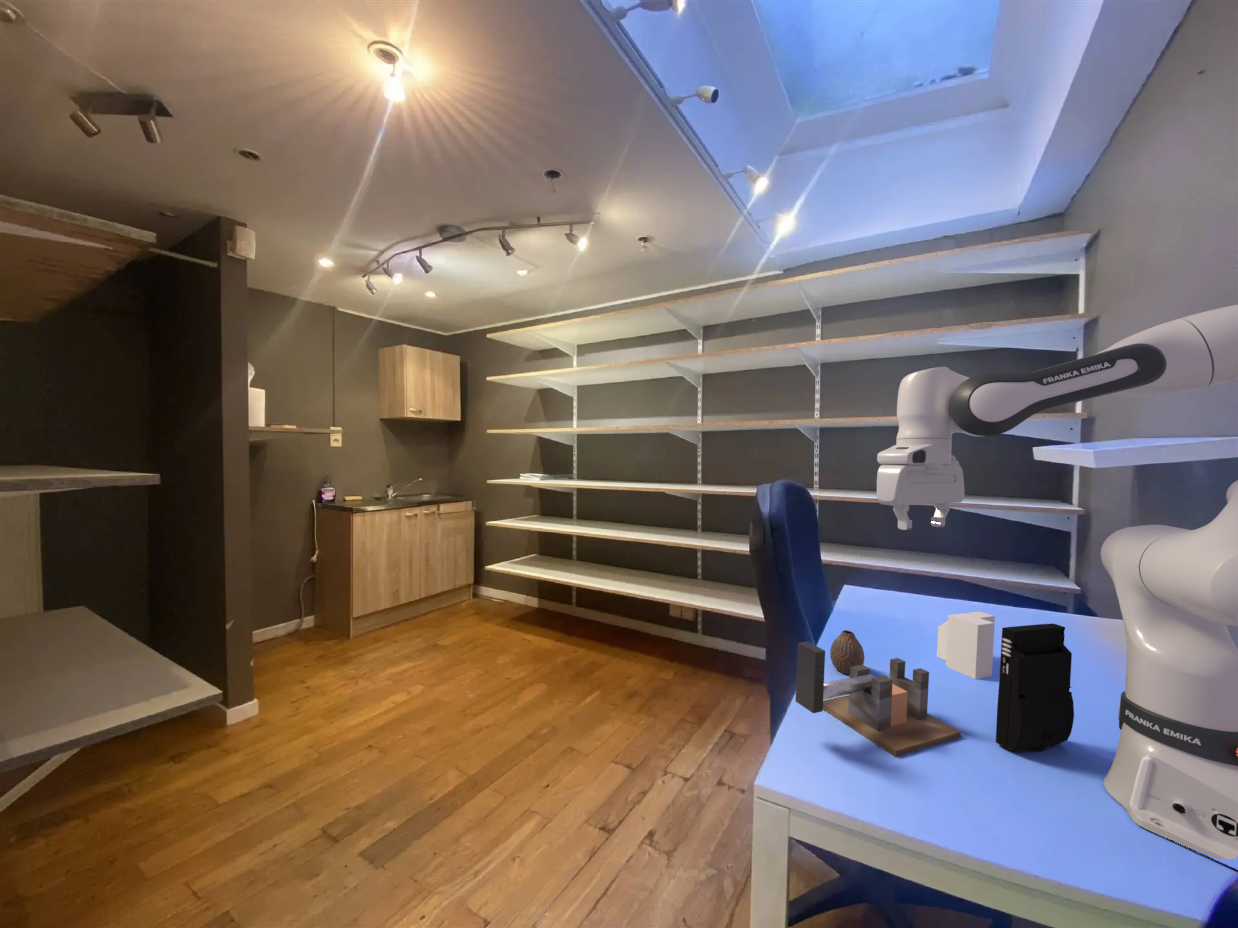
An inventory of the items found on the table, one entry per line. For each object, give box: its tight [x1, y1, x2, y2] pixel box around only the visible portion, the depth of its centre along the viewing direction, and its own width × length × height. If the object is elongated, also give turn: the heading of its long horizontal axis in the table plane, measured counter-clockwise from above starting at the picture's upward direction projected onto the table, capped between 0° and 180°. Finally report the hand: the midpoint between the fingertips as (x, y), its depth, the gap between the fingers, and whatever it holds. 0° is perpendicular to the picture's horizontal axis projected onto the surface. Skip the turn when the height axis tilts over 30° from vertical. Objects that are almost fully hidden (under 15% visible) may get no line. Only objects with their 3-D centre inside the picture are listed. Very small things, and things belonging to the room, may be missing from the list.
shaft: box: [795, 641, 875, 714], centre depth 83 cm, size 4×15×10 cm, turn 112°
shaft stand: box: [823, 657, 962, 758], centre depth 87 cm, size 16×16×10 cm
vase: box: [829, 629, 865, 676], centre depth 108 cm, size 7×7×9 cm
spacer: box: [890, 684, 908, 726], centre depth 87 cm, size 5×4×6 cm
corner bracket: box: [936, 611, 996, 680], centre depth 113 cm, size 11×11×12 cm
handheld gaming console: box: [995, 623, 1075, 753], centre depth 81 cm, size 12×5×20 cm, turn 105°
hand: (921, 528), depth 91 cm, fingers open, 8 cm apart
